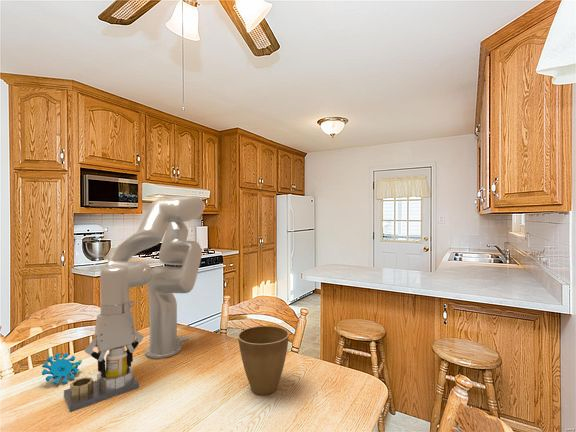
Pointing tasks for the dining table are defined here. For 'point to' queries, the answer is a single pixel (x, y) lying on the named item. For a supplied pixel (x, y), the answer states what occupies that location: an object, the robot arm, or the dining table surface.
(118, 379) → the fitting plate
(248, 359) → the plant pot
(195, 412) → the dining table surface
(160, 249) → the robot arm
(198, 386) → the dining table surface
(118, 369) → the supplement bottle
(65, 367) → the blue virus model
